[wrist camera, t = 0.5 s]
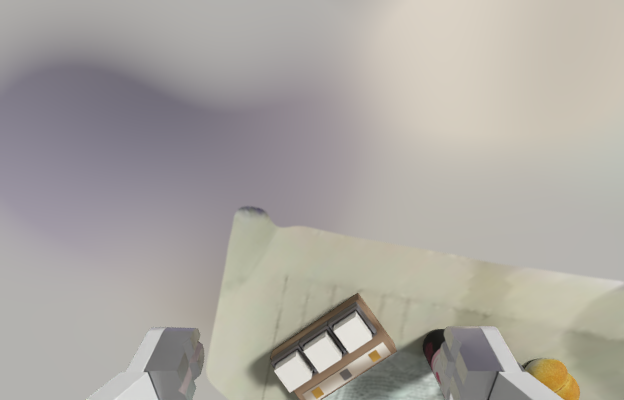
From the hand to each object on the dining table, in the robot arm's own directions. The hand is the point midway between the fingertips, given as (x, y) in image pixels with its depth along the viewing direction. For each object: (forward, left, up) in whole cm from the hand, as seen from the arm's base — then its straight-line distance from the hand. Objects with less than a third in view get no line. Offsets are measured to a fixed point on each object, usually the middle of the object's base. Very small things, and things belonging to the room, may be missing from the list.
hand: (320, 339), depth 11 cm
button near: (-17, +10, -45) cm, 49 cm away
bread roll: (-45, -11, -50) cm, 68 cm away
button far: (-17, +22, -45) cm, 53 cm away
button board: (-20, +16, -49) cm, 56 cm away
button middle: (-17, +16, -45) cm, 51 cm away
